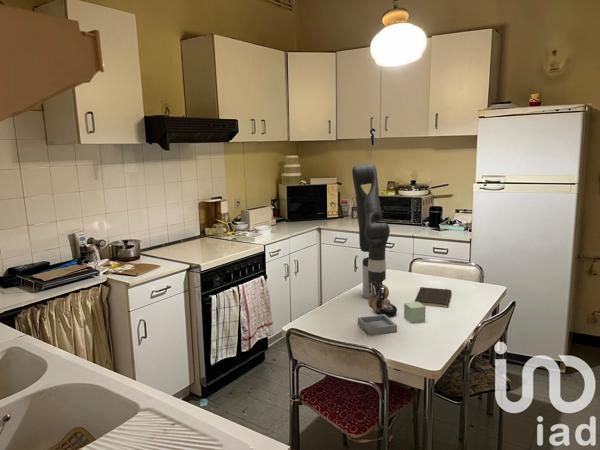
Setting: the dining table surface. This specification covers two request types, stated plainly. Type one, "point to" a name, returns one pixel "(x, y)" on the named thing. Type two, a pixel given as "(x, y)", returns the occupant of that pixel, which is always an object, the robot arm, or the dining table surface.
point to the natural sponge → (386, 291)
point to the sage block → (414, 312)
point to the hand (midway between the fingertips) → (376, 306)
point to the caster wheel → (387, 309)
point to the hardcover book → (433, 297)
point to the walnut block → (374, 302)
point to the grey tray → (377, 324)
